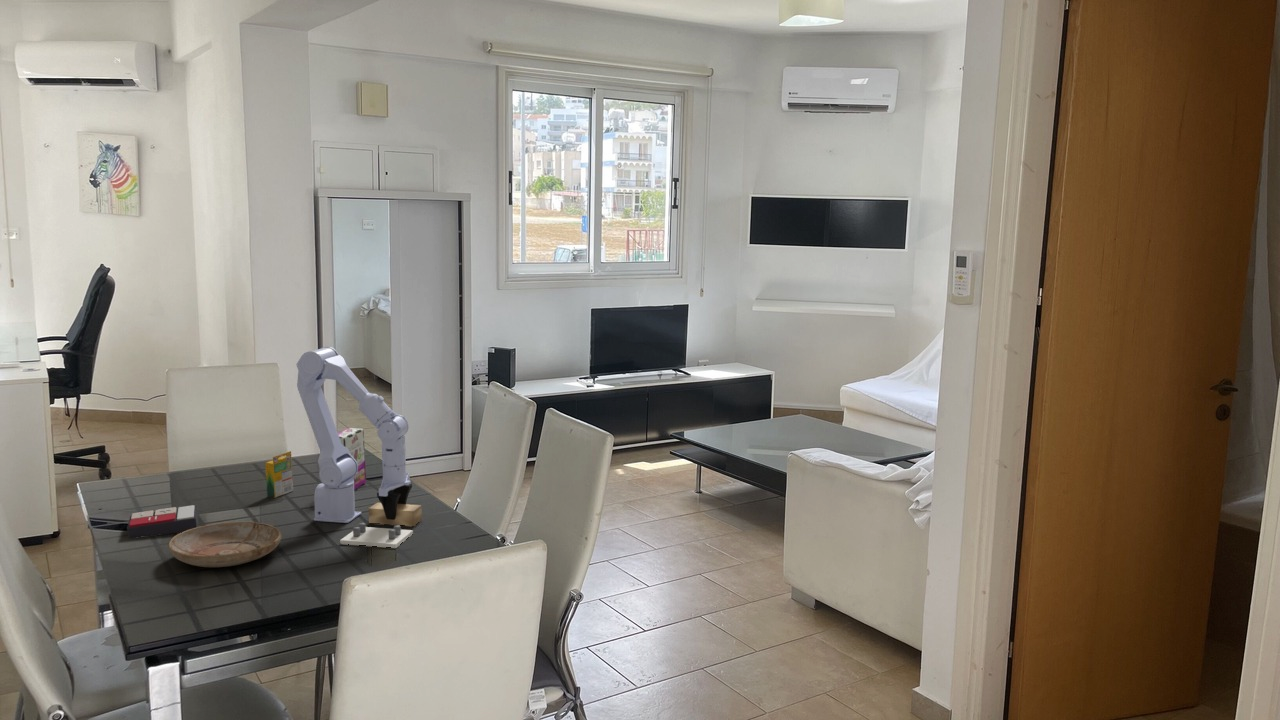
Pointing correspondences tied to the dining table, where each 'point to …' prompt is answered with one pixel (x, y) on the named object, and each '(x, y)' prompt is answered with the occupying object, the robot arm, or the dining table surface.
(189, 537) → the ceramic bowl
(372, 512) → the tan rectangular block
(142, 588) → the dining table surface
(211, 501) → the dining table surface
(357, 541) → the peg stand
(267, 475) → the crayon box
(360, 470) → the candy bar box
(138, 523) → the black box with panels
